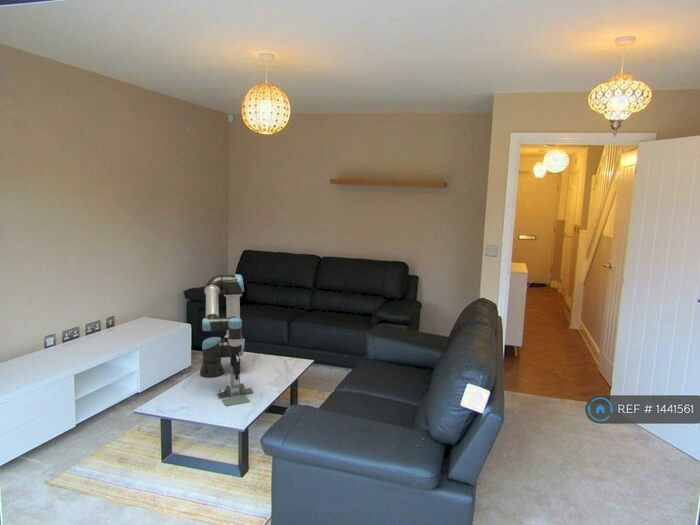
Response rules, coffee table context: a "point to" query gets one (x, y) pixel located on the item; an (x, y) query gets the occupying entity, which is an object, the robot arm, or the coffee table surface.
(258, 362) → the coffee table surface
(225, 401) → the mat
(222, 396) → the silver metal blocks
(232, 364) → the bar
